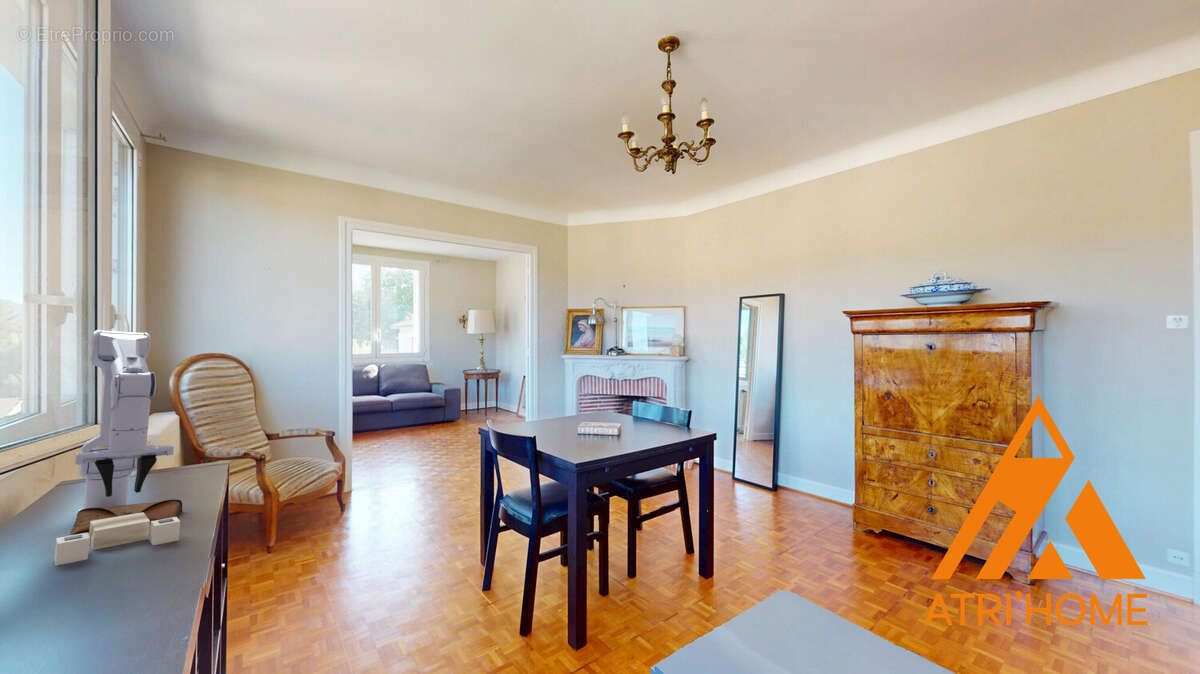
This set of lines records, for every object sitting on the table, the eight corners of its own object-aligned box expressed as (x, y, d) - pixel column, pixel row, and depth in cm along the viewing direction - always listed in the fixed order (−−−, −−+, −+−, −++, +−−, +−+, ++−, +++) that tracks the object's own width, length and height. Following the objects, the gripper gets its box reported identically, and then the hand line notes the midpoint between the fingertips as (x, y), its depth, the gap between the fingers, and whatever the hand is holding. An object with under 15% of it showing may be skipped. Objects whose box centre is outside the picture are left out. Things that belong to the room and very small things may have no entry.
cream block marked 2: (149, 540, 97) (151, 520, 98) (174, 535, 100) (176, 515, 101) (152, 545, 95) (154, 525, 95) (178, 540, 98) (180, 520, 98)
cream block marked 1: (54, 559, 87) (56, 536, 87) (85, 553, 90) (88, 531, 90) (55, 566, 85) (57, 542, 85) (87, 559, 88) (90, 537, 88)
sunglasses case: (64, 535, 97) (72, 504, 100) (70, 543, 102) (77, 513, 105) (179, 520, 109) (183, 492, 112) (180, 528, 113) (183, 501, 116)
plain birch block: (88, 540, 97) (90, 521, 97) (141, 530, 103) (143, 512, 103) (92, 551, 92) (94, 530, 92) (148, 540, 98) (150, 521, 98)
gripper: (80, 434, 90) (73, 505, 90) (178, 428, 102) (173, 490, 101) (77, 430, 95) (70, 497, 94) (171, 424, 106) (166, 484, 105)
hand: (123, 493), depth 98 cm, fingers open, 4 cm apart
